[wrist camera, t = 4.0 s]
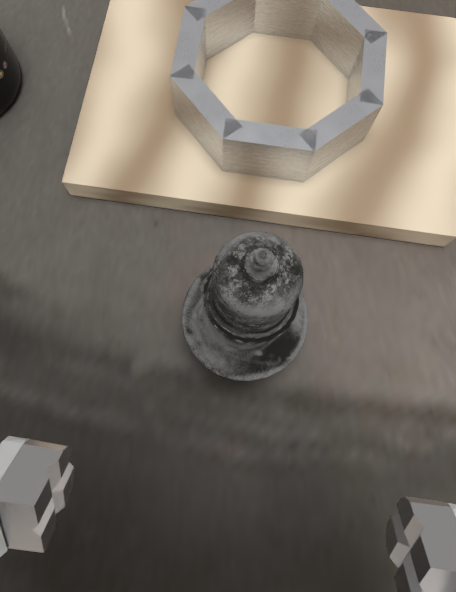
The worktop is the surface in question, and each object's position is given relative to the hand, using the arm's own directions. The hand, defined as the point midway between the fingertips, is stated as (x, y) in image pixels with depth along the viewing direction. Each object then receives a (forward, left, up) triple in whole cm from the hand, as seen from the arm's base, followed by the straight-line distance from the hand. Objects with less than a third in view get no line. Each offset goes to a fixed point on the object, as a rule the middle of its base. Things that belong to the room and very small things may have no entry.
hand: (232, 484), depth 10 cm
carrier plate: (0, +20, -11) cm, 23 cm away
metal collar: (0, +20, -10) cm, 22 cm away
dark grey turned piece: (0, +6, -12) cm, 13 cm away
